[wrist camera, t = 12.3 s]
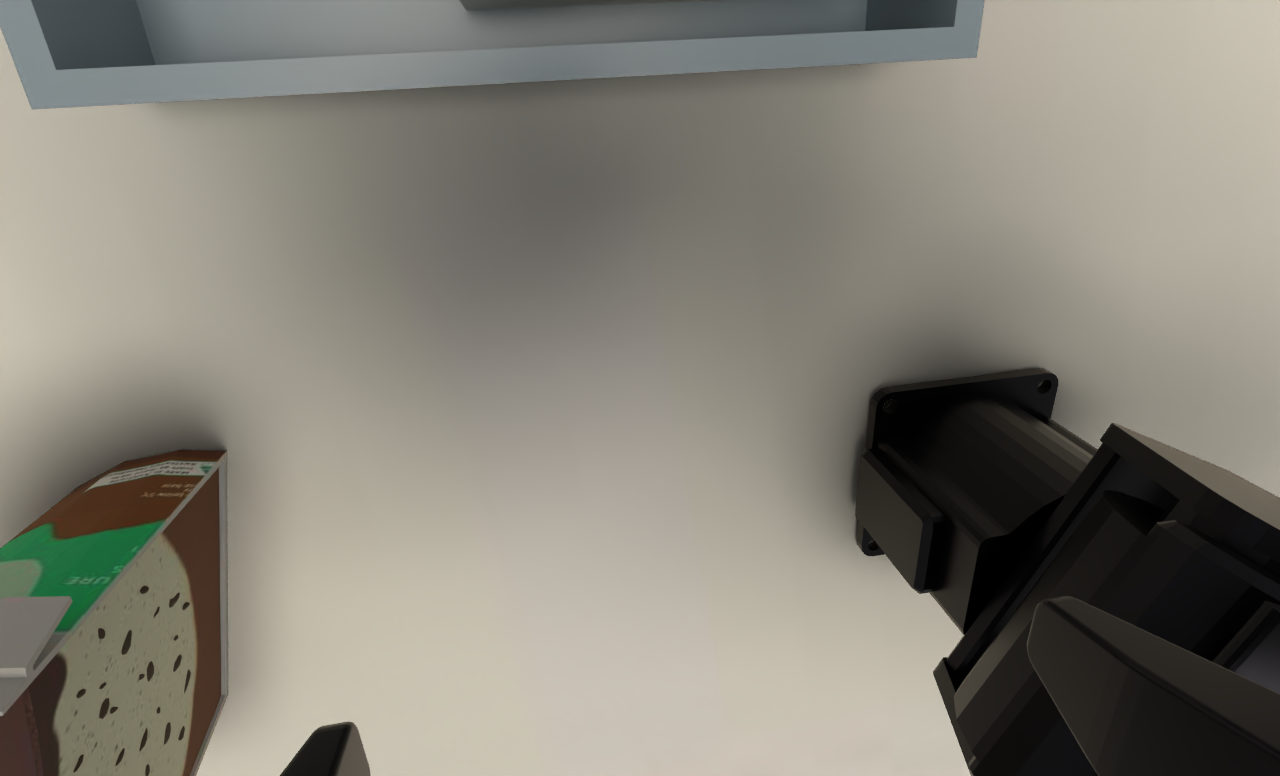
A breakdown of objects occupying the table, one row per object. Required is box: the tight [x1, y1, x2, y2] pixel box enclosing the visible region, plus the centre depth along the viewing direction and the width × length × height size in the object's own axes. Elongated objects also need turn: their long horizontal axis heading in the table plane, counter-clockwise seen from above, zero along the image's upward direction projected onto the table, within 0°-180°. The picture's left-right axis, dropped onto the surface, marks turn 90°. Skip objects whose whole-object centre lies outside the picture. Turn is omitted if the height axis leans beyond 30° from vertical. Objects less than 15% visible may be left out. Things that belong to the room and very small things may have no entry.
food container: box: [0, 450, 228, 776], centre depth 17 cm, size 12×6×10 cm, turn 167°
